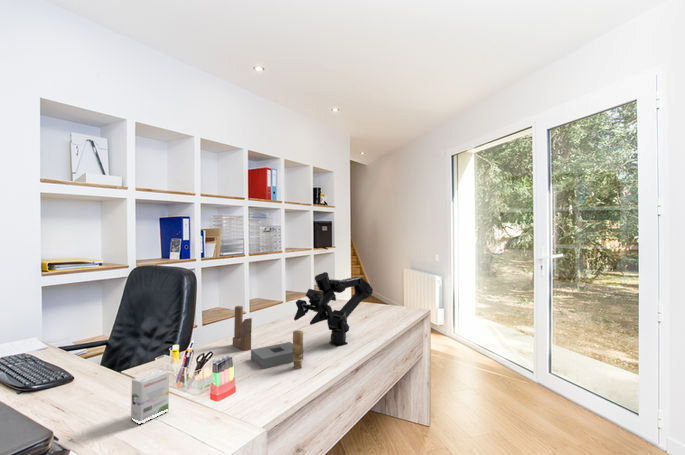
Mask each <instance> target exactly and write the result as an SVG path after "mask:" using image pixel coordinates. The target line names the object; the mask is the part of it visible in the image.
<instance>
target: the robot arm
mask: <svg viewBox="0 0 685 455" xmlns="http://www.w3.org/2000/svg"><path fill="white" fill-rule="evenodd" d="M314 281H315V283H316V286H317V289H318V290H315V289H312V288H308V290H307V291H306V293H305V297H306V298H308V303H307V301H306V300H304V299H297V300H296V301H295V305H296V307H297V311H296V313H295V315H294V318H293V320H294V321H298V320H299V319H301V318H302V317H304V316H306V314H307V313H308V312H309V310H310V311H313V312H314V313H316V314H315V315H314V317H313V318H311V320H310V321H309V325H311V326H312V325H315V324H316V323H320V322H324V321H326V322H327V326H328V330H330V331H331V334H330V341H329V344H331V345H334V346H335V347H340V346H344V345H348V342H347V340H346V339H347V337H346V336H347V334H346V333H348V332H349V331H350V325H349V324H348V317H349V316H350V315H351V314H352V313H353V311H354V310H355V309H356V308H357V307H358V306H359V305H360V303H361V302H362V301H363V300H367V299H369V298H370V297H371V296H372V295H373V293H374V292H373V291H374V290H373V288H372V286H371V285H370V283H369V282H367V281H366V280H365V279H364V277H362V276H352V277H349V278H345V279H331V278H330V276H329V273H328V272H326V271H325V272H322V273H319V274H316V275H315V276H314ZM351 287H353V290H354V294H353V295H352V296H351V297H350V298H349V299H348V301H347V302H346V303H345V304H344V305H343V306H342V308H340V310H337V309H334V310H333V309H332V306H331V305H329V303H330V302H331V301H334V302H336V301H337V295H336V294H335V293H337V294H341V293H344V292H345V291H346V289H348V288H351ZM309 303H310V304H309Z"/></svg>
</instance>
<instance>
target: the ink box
mask: <svg viewBox="0 0 685 455" xmlns="http://www.w3.org/2000/svg"><path fill="white" fill-rule="evenodd" d="M169 393H170V372H167V371H165V370H162V369H159V370H155V371H153V372H149V373H147V374H144V375H141V376H139V377H135V378H133V379H131V397H130V398H131V404H130V406H131V407H130V410H131V411H130V412H131V413H130V419H131V418H133V419H135V420H138V421H142V420H144V419H146V418H148V417H150V416H152V415H155V414H157V413H159V412H161V411H164V410H166V409H168V410H169V404H170V403H169V402H170V394H169Z"/></svg>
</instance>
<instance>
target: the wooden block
mask: <svg viewBox="0 0 685 455" xmlns="http://www.w3.org/2000/svg"><path fill="white" fill-rule="evenodd" d="M243 312H244V307H243V306H242V305H236V306H235V307H234V325H233V326H234V327H233V328H234V329H233V335H234V336H233V337H232V346H233V347H235V348H237V349H240V350H242V351H243V352H246V351H251V350H252V326H253V323H252V319H253V318H252V317H249V318H245V319H244V320H243V317H244V316H243V314H244V313H243Z"/></svg>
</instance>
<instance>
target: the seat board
mask: <svg viewBox="0 0 685 455" xmlns="http://www.w3.org/2000/svg"><path fill="white" fill-rule="evenodd" d="M250 360H251V361H252V362H253V363H255V365H257V366H258V367H260V369H262V370H264V369H268V368H273V367H278V366H281V365H285V364H289V363H294V361H293V342H292V341H287V342H282V343H278V344H272V345H267V346H262V347H258V348H253V349H252V348H251V349H250ZM303 360H304V352H303V353H302V361H303Z"/></svg>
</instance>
